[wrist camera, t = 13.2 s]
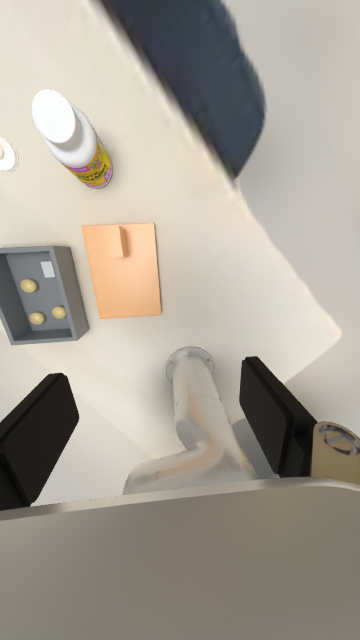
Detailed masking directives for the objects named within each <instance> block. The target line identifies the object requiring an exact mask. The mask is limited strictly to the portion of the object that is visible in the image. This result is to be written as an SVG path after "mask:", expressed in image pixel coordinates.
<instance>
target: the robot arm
mask: <svg viewBox="0 0 360 640" xmlns="http://www.w3.org/2000/svg"><path fill="white" fill-rule="evenodd" d="M189 350H190V351H189ZM171 361H172V362H171ZM213 372H214V364H213V361H212V359H211V357H210V356H209V354H208V353H207V352H205V351H204V350H202V349H199V348H194V347H188V348H183V349H181V350H178V351H177V352H175V353H174V354H173V355H172V356H171V357H170V358H169V360H168V362H167V366H166V374H167V377H168V379H169V381H170V382H171V383H172V384H173V397H174V416H175V428H176V432H177V435H178V437H179V439H180V440H181V442H182V443H183V444H184V446H185V447H186V448H187V449H188V450H186V451H183V452H181V453H178V454H175V455H171V456H167V457H164V458H160V459H156V460H153V461H149V462H146V463H143V464H141V465H139V466H138V467H136V468H135V469H134V470H133V471H132V472H131V473H130V475H129V476H128V478H127V480H126V483H125V486H124V490H123V495H122V496H114V497H105V498H97V499H89V500H81V501H73V502H65V503H57V504H49V505H41V506H33V507H30V505H31V504H32V503H33V502H35V501H36V500H37V498H38V497H39V495H40V492H41V491H42V489H43V487H44V485H45V483H46V481H47V479H48V478H49V476H50V474H51V472H52V470H53V468H54V466H55V464H56V463H57V461H58V459H59V457H60V455H61V453H62V451H63V449H64V448H65V446H66V444H67V442H68V440H69V438H70V436H71V434H72V433H73V431H74V429H75V427H76V425H77V423H78V421H79V413H78V410H77V407H76V403H75V400H74V397H73V394H72V390H71V387H70V384H69V381H68V378H67V376H66V375H64V374H63V373H54V374H49V375H47V376H46V377H45V378H44V379H43V380H42V381H41V382H40V383H39V384H38V385H37V386H36V387H35V388H34V389H33V390H32V391H31V392H30V393H29V394H28V395H27V396H26V397H25V398H24V399H23V400H22V401H21V402H20V404H18V405H17V406H16V407H15V408H14V409H13V410H12V411H11V412H10V413H9V414H8V415H7V416H6V417H5V418H4V419H3V420H2V421H1V422H0V640H360V438H359V437H358V436H357V435H355V434H354V433H353V432H352V431H350V430H348V429H347V428H345V427H343V426H341V425H339V424H336V423H332V422H325V421H323V422H317V421H316V420H315V419H314V418H313V416H311V414H310V413H309V412H308V411H307V410H306V409H305V408H304V407H303V406H302V404H301V403H300V402H299V401H298V400H297V399H296V398H295V397H294V396H293V395H292V393H291V392H290V391H289V390H288V389H287V388H286V387H285V386H284V385H283V384H282V382H280V381H279V380H278V379H277V378H276V377H275V375H274V374H273V373H272V372H271V371H270V370H269V369H268V368H267V367H266V366H265V364H264V363H263V362H262V361H261V360H260V359H259V358H258V357H257V356H253V357H246V358H245V360H242V367H241V382H240V396H239V402H240V405H241V408H242V410H243V412H244V414H245V416H246V418H247V420H248V422H249V424H250V426H251V428H252V430H253V432H254V434H255V436H256V438H257V440H258V442H259V444H260V446H261V448H262V450H263V452H264V454H265V456H266V458H267V460H268V462H269V464H270V466H271V468H272V470H273V472H274V473H275V474H279V476H280V478H275V479H265V480H259V479H258V477H257V474H256V472H255V470H254V468H253V467H252V465H251V463H250V461H249V460H248V458H247V456H246V454H245V453H244V451H243V449H242V447H241V445H240V444H239V442H238V440H237V438H236V436H235V434H234V431H233V429H232V427H231V425H230V422H229V420H228V417H227V415H226V412H225V409H224V407H223V404H222V402H221V399H220V396H219V394H218V391H217V388H216V386H215V383H214V380H213V378H212V375H213Z"/></svg>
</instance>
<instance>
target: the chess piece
mask: <svg viewBox="0 0 360 640" xmlns="http://www.w3.org/2000/svg"><path fill="white" fill-rule="evenodd" d="M18 162H19V159H18V154H17V151H16V149H15V148H14V146H13V145H12V144H11V143H10V142H9V141H8V140H6V139H4V138H2V137H0V171H2V172H6V173H10V172H13V171H14V170H15V169H16V168H17V166H18Z"/></svg>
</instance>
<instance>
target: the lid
mask: <svg viewBox="0 0 360 640" xmlns="http://www.w3.org/2000/svg"><path fill="white" fill-rule="evenodd" d="M81 227H82V232H83V237H84V241H85V246H86V251H87V256H88V261H89V266H90V271H91V276H92V281H93V286H94V290H95V295H96V300H97V305H98V310H99V315H100V319H105V318H121V317H137V316H153V315H161V302H160V290H159V278H158V265H157V253H156V241H155V228H154V223H148V224H120V225H92V226H81Z"/></svg>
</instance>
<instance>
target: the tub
mask: <svg viewBox="0 0 360 640" xmlns="http://www.w3.org/2000/svg"><path fill="white" fill-rule="evenodd" d="M0 318H1V321H2V323H3V326H4V328H5V331H6V333H7V335H8V338H9V340H10V343H11V345H22V344H36V343H50V342H63V341H77V340H79V339H80V338H81V337H82V336H83V335H84V334H85V333H86V332H87V331H88V330H89V326H88V322H87V317H86V313H85V309H84V305H83V300H82V296H81V292H80V288H79V283H78V279H77V275H76V271H75V266H74V262H73V258H72V254H71V249H70V247H61V246H38V247H16V248H0Z"/></svg>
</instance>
